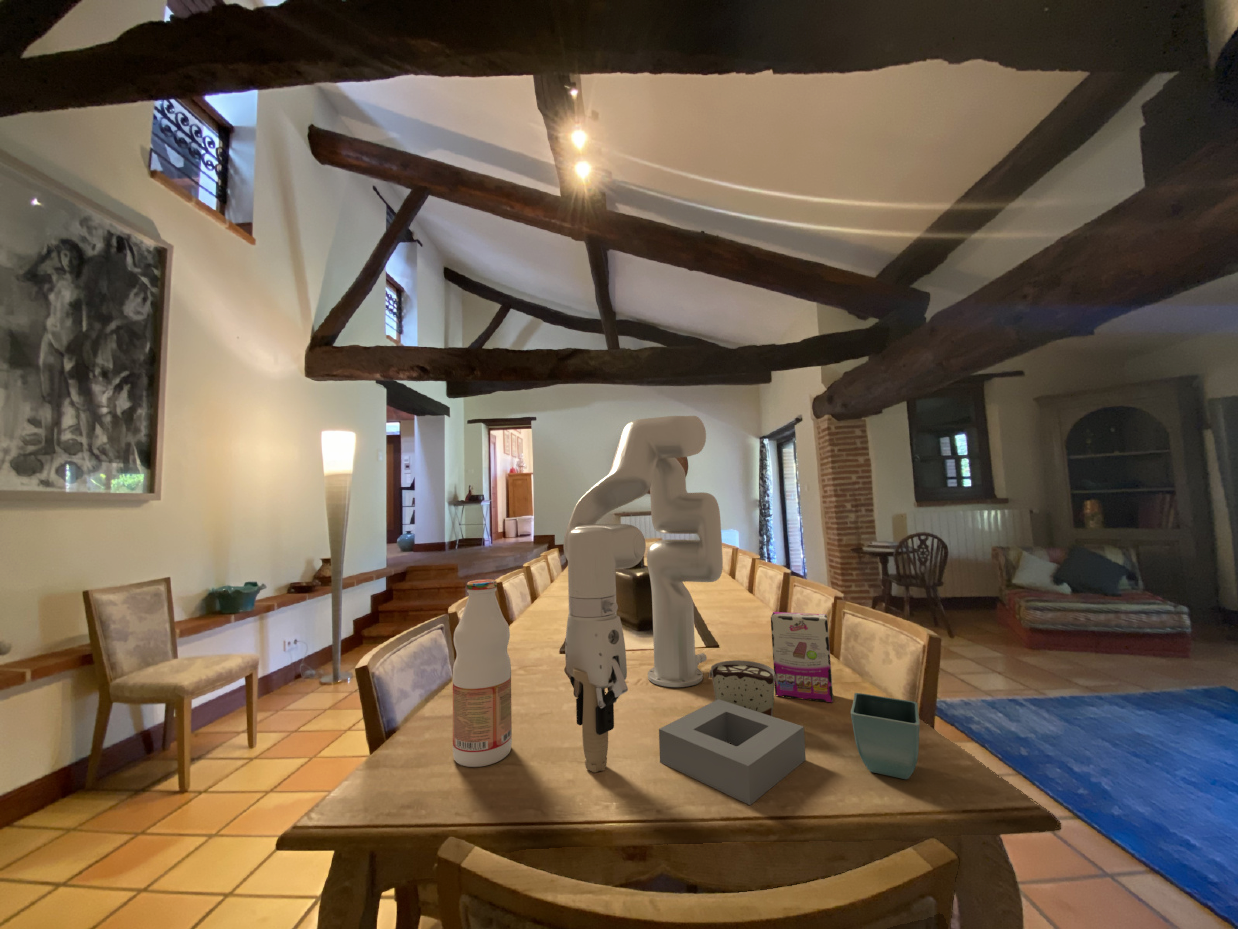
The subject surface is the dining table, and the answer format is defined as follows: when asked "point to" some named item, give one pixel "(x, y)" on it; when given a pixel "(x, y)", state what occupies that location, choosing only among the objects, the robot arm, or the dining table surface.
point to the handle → (591, 726)
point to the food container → (745, 684)
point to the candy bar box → (802, 656)
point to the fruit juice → (481, 680)
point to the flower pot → (886, 734)
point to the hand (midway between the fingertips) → (595, 725)
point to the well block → (733, 749)
